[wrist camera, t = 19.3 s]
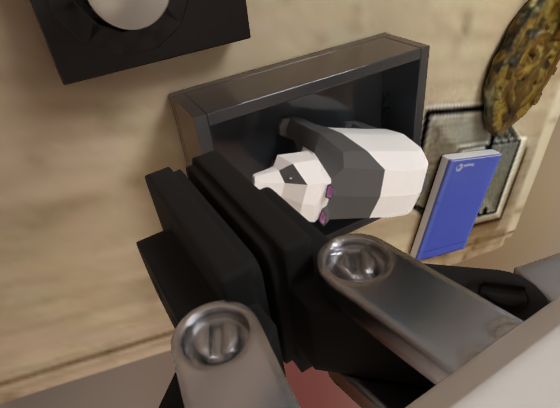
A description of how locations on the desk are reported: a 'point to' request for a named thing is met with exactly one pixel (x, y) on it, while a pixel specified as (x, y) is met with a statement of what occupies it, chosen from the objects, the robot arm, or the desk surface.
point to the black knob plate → (134, 35)
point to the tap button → (129, 12)
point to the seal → (522, 65)
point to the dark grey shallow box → (306, 104)
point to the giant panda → (346, 171)
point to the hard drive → (454, 202)
